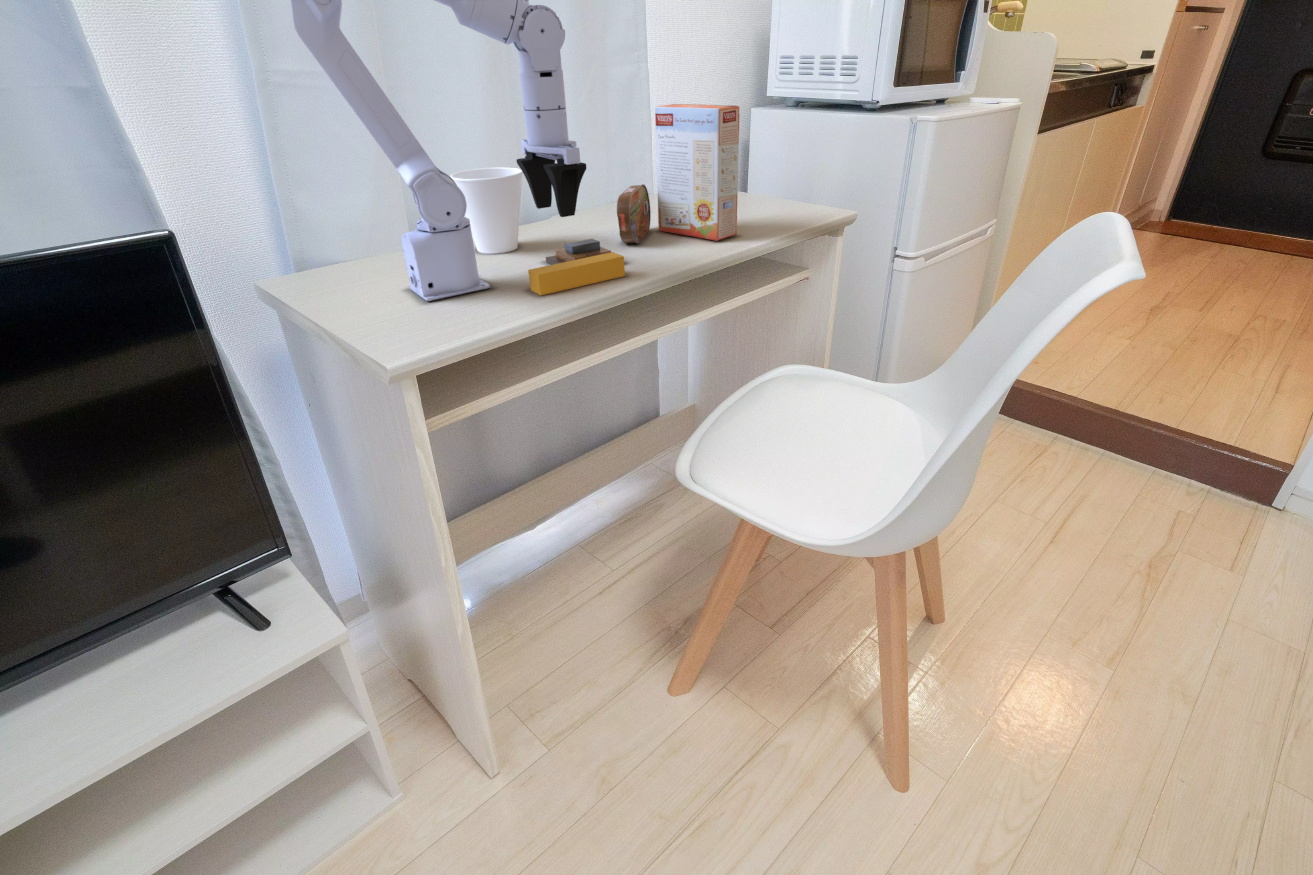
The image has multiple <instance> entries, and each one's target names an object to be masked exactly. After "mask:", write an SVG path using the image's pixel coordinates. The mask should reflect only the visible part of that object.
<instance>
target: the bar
mask: <svg viewBox="0 0 1313 875" xmlns="http://www.w3.org/2000/svg"><path fill="white" fill-rule="evenodd" d="M527 272H528V279H529V288H530V291H531V292H533V293H535V294H537V295H538V296H546V295H549V294H554V293H557V292H558V293H559V292H563V291H566V290H571V289H575V288H581V287H584V286H588V285H589V286H590V285H593V284H597V283H601V282H605V281H610V280H614V279H618V278H622V277H625V276H626V269H625V256H624V255H621V254H619V253H616V252H614V251H611V253H606V254H601V255H596V256H592V257H587V258H582V259H577V260H573V261H568V262H563V263H558V264H553V265H552V264H549V265H544V266H540V267H534V268H529V269H528V270H527Z"/></svg>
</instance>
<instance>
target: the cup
mask: <svg viewBox="0 0 1313 875" xmlns="http://www.w3.org/2000/svg"><path fill="white" fill-rule="evenodd" d="M523 175H524V174H523V172H522V170H521V169H520V168H516V167H507V166H506V167H505V166H498V167H497V166H495V167H479V168H471V169H465V170H460V171H456V172H454V173H451V174H449V176H450V177H451V178H452V179H453V180H454V182H455V183H456V185H457V186H458V187H459V188H460V189H461V191H462V192H463V194H464V196H465V199H466V204H467V208H466V213H465V216H464V217H466V218H468V219H469V220H470V226H471V232H472V238H473V243H474V246H475V248H476V249H477V252H479V253H480V254H487V255H492V254H496V255H497V254H504V253H510V252H513V251H515V250H517V249H518V245H519V243H518V242H519V230H520V228H519V227H520V214H521V201H522V200H521V198H522V184H523Z"/></svg>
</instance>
